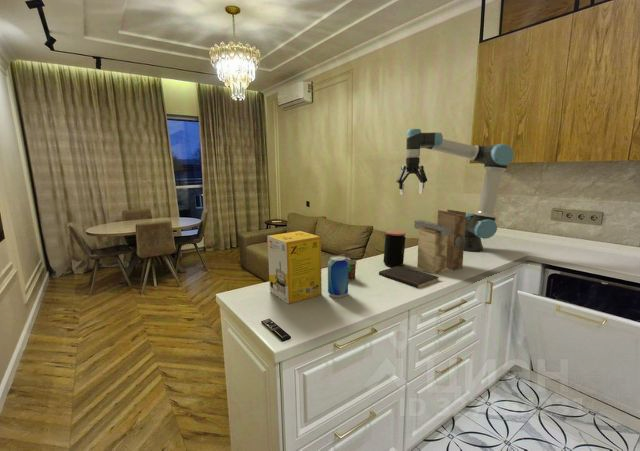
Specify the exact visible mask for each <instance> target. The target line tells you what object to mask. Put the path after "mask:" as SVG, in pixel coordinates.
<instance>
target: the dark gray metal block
mask: <svg viewBox="0 0 640 451" xmlns="http://www.w3.org/2000/svg"><path fill="white" fill-rule="evenodd" d="M413 223H414V226H413V228H414V229H417V230H419V227H421V228H425V229H429V230H433V231H437V233H436V234H440V235H443V236H445V235H451V227H450V226H445V225H441V224H437V222H432V221H431V222H430V221H426V220H423V219H422V220H421V219H418V220H417V219H416V220H414V221H413Z"/></svg>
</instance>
